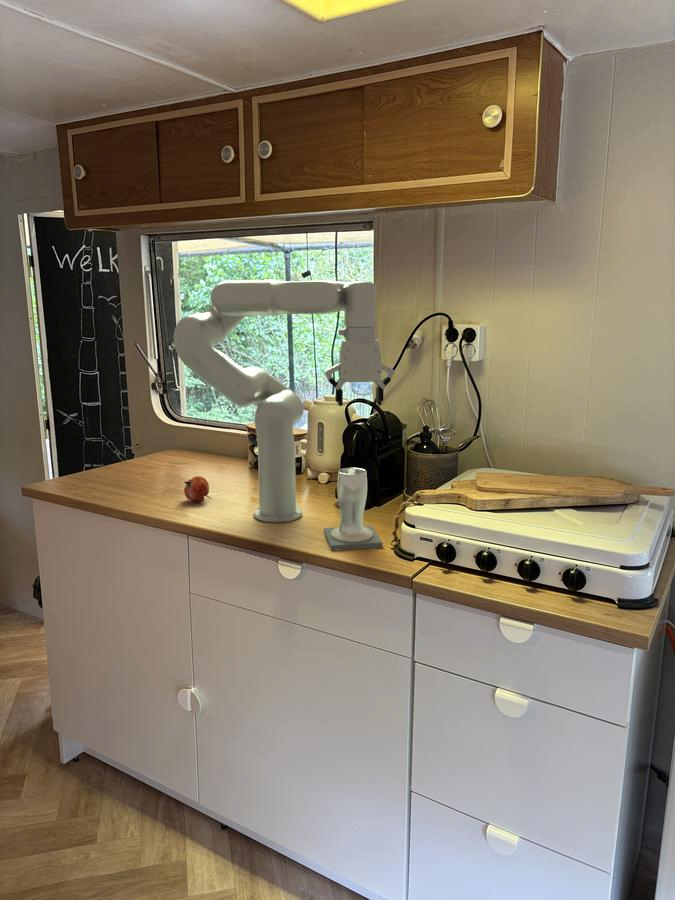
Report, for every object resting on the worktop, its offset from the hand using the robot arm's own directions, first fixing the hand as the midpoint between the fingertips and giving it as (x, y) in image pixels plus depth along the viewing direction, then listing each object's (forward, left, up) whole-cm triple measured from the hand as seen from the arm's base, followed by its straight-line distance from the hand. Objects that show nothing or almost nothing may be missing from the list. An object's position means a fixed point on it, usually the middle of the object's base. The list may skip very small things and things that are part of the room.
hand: (359, 404), depth 173 cm
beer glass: (+13, -4, -29) cm, 32 cm away
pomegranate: (-24, -41, -31) cm, 57 cm away
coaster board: (+13, -4, -30) cm, 33 cm away
